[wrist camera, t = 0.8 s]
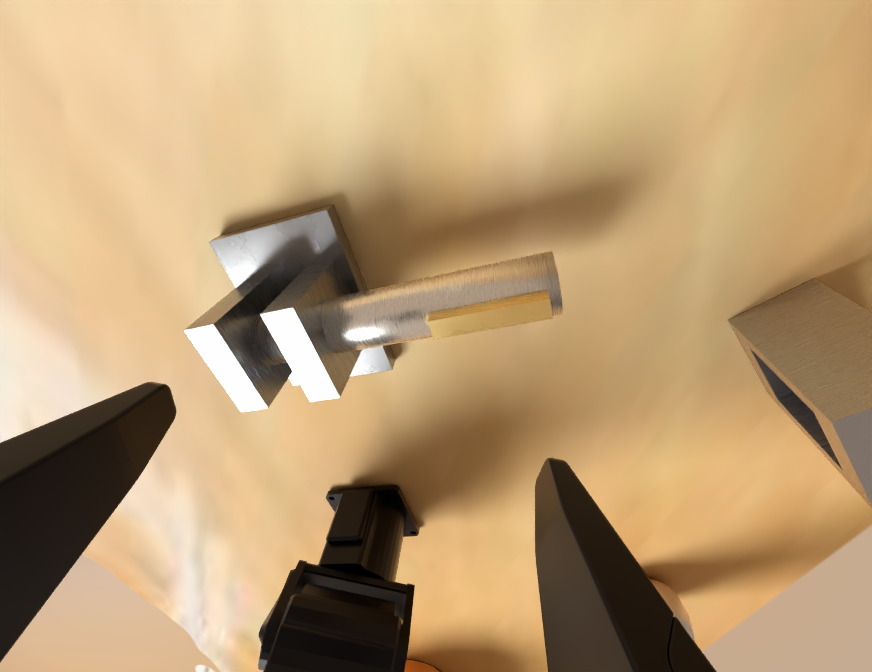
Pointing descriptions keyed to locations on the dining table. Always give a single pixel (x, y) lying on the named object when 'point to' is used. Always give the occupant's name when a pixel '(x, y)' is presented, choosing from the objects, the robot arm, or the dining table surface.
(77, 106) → the dining table surface
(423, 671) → the flower pot
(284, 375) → the shaft stand
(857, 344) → the hollow rectangular metal block
